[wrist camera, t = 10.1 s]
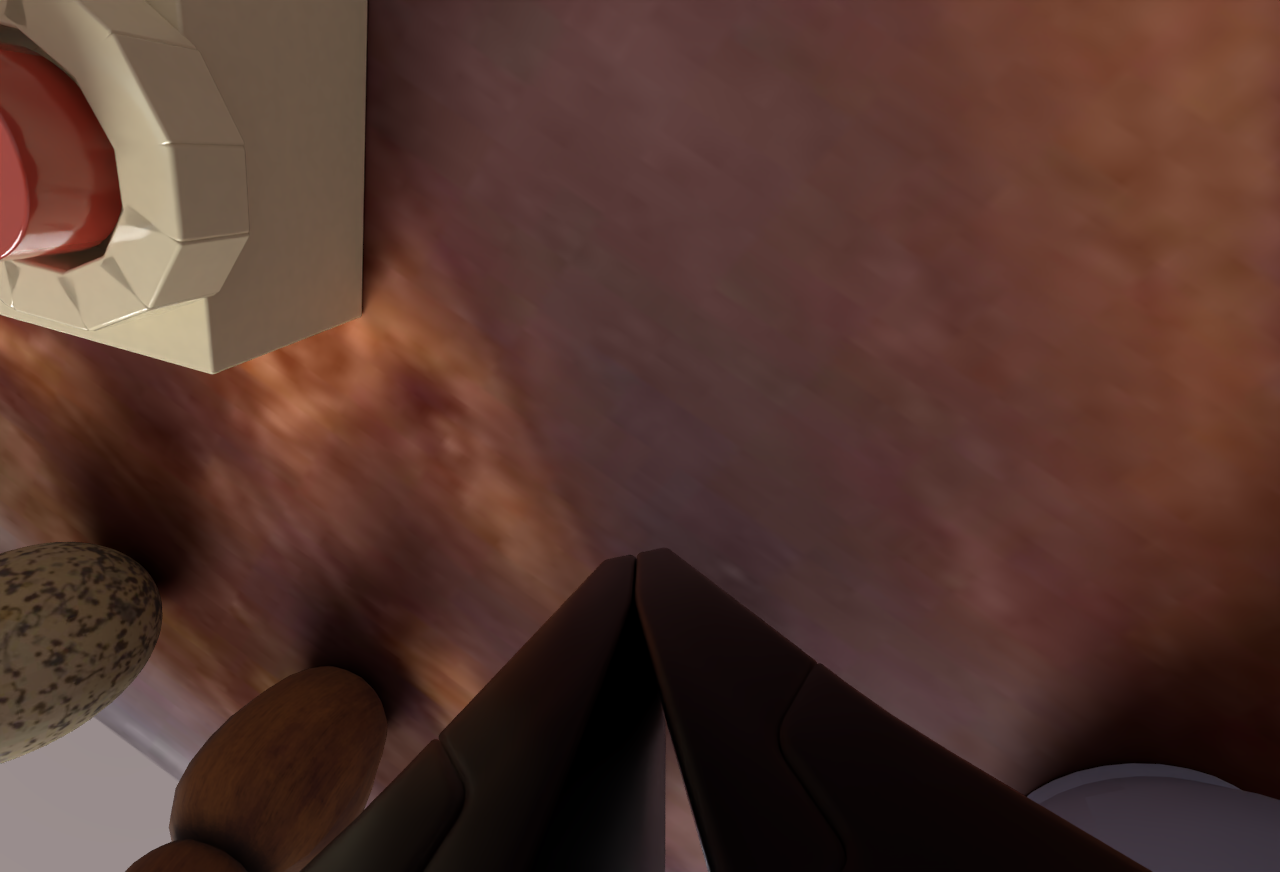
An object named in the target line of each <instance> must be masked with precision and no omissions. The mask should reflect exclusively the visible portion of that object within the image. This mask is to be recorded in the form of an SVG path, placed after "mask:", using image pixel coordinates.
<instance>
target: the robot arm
mask: <svg viewBox="0 0 1280 872" xmlns="http://www.w3.org/2000/svg"><path fill="white" fill-rule="evenodd" d="M664 715H665V716H664ZM665 718H666V722H667V726H668V729H669V733H670V737H671V740H672V744H673V747H674V751H675V755H676V758H677V762H678V765H679V769H680V772H681V776H682V780H683V783H684V787H685V790H686V794H687V797H688V801H689V805H690V808H691V812H692V815H693V819H694V822H695V826H696V830H697V833H698V837H699V840H700V844H701V847H702V851H703V855H704V858H705V862H706V865H707V869H708V872H1152V871H1151V870H1149V869H1147V868H1146V867H1144V866H1142V865H1141V864H1139V863H1137V862H1136V861H1134V860H1132V859H1131V858H1129V857H1127V856H1125V855H1124V854H1122V853H1120V852H1119V851H1117V850H1115V849H1114V848H1112V847H1110V846H1109V845H1107V844H1105V843H1104V842H1102V841H1100V840H1099V839H1097V838H1095V837H1093V836H1092V835H1090V834H1088V833H1087V832H1085V831H1083V830H1082V829H1080V828H1078V827H1077V826H1075V825H1073V824H1072V823H1070V822H1068V821H1067V820H1065V819H1063V818H1061V817H1060V816H1058V815H1056V814H1055V813H1053V812H1051V811H1050V810H1048V809H1046V808H1045V807H1043V806H1041V805H1040V804H1038V803H1036V802H1035V801H1033V800H1031V799H1029V798H1028V797H1026V796H1024V795H1023V794H1021V793H1019V792H1018V791H1016V790H1014V789H1013V788H1011V787H1009V786H1008V785H1006V784H1004V783H1003V782H1001V781H999V780H997V779H996V778H994V777H992V776H991V775H989V774H987V773H986V772H984V771H982V770H981V769H979V768H977V767H976V766H974V765H972V764H971V763H969V762H967V761H965V760H964V759H962V758H960V757H959V756H957V755H955V754H954V753H952V752H950V751H949V750H947V749H946V748H944V747H942V746H941V745H939V744H938V743H936V742H934V741H933V740H931V739H930V738H928V737H926V736H925V735H923V734H922V733H920V732H919V731H917V730H915V729H914V728H912V727H911V726H909V725H907V724H906V723H904V722H903V721H901V720H899V719H898V718H896V717H895V716H893V715H891V714H890V713H888V712H887V711H886V710H884V709H883V708H881V707H880V706H879V705H877V704H876V703H874V702H873V701H872V700H870V699H869V698H867V697H866V696H865V695H863V694H862V693H860V692H859V691H857V690H856V689H855V688H853V687H852V686H850V685H849V684H848V683H846V682H845V681H843V680H842V679H841V678H840V677H838V676H837V675H836V674H834V673H833V672H832V671H830V670H829V669H828V668H826V667H825V666H824V665H822V664H820V663H818V664H817V662H816V661H815V660H814V659H813V658H811V657H810V656H809V655H807V654H806V653H805V652H803V651H802V650H801V649H800V648H798V647H797V646H796V645H794V644H793V643H792V642H790V641H789V640H788V639H786V638H785V637H784V636H783V635H781V634H780V633H779V632H777V631H776V630H775V629H773V628H772V627H771V626H769V625H768V624H767V623H765V622H764V621H763V620H762V619H760V618H759V617H758V616H756V615H755V614H754V613H752V612H751V611H750V610H748V609H747V608H746V607H745V606H743V605H742V604H741V603H739V602H738V601H737V600H735V599H734V598H733V597H731V596H730V595H729V594H727V593H726V592H725V591H724V590H722V589H721V588H720V587H718V586H717V585H716V584H714V583H713V582H712V581H710V580H709V579H708V578H707V577H705V576H704V575H703V574H701V573H700V572H699V571H697V570H696V569H695V568H693V567H692V566H691V565H689V564H688V563H687V562H686V561H684V560H683V559H682V558H680V557H679V556H678V555H676V554H675V553H674V552H672V551H671V550H670V549H668V548H660V549H655V550H651V551H646V552H641V553H639V554H638V555H637V559H636V558H635V556H633V555H626V556H622V557H617V558H612V559H607V560H605V561H603V562H602V563H601V564H600V565H599V566H598V567H597V568H596V570H595V571H594V572H593V573H592V574H591V575H590V576H589V577H588V578H587V579H586V580H585V581H584V582H583V583H582V584H581V585H580V586H579V587H578V589H577V590H576V591H575V592H574V593H573V594H572V595H571V596H570V597H569V598H568V599H567V600H566V601H565V602H564V603H563V604H562V605H561V606H560V608H559V609H558V610H557V611H556V612H555V613H554V614H553V615H552V616H551V617H550V618H549V619H548V620H547V621H546V622H545V623H544V624H543V625H542V627H541V628H540V629H539V630H538V631H537V632H536V633H535V634H534V635H533V636H532V637H531V638H530V639H529V640H528V641H527V642H526V643H525V644H524V646H523V647H522V648H521V649H520V650H519V651H518V652H517V653H516V654H515V655H514V656H513V657H512V658H511V659H510V660H509V661H508V662H507V663H506V665H505V666H504V667H503V668H502V669H501V670H500V671H499V672H498V673H497V674H496V675H495V676H494V677H493V678H492V679H491V680H490V681H489V683H488V684H487V685H486V686H485V687H484V688H483V689H482V690H481V691H480V692H479V693H478V694H477V695H476V696H475V697H474V698H473V699H472V700H471V702H470V703H469V704H468V705H467V706H466V707H465V708H464V709H463V710H462V711H461V712H460V713H459V714H458V715H457V716H456V717H455V718H454V719H453V720H452V722H451V723H450V724H449V725H448V726H447V727H446V728H445V729H444V730H443V731H442V732H441V733H440V735H439V740H438V739H434V740H432V741H431V742H430V743H429V744H428V745H427V746H426V747H425V748H424V749H423V750H422V751H421V752H420V753H419V754H418V755H417V757H416V758H415V759H414V760H413V761H412V762H411V763H410V764H409V765H408V766H407V767H406V768H405V769H404V770H403V771H402V772H401V773H400V774H399V775H398V776H397V777H396V778H395V779H394V780H393V781H392V782H391V783H390V784H389V785H388V786H387V787H386V788H385V789H384V790H383V791H382V792H381V793H380V794H379V795H378V796H377V797H376V798H375V799H374V800H373V801H372V802H371V803H370V804H369V805H368V806H367V807H366V808H365V810H364V811H363V812H362V813H361V814H360V815H359V816H358V817H357V818H356V819H354V820H353V821H352V822H351V823H350V824H349V825H348V826H347V827H346V828H345V829H344V830H343V831H342V832H341V833H340V834H339V835H338V836H336V837H335V838H334V839H333V840H332V841H331V842H330V843H329V844H328V845H327V846H326V847H325V848H324V849H323V850H322V851H321V852H320V853H318V854H317V855H316V856H315V857H314V858H313V859H312V860H311V861H310V862H309V863H308V864H307V865H306V866H305V867H304V868H303V869H302V870H300V871H299V872H665V751H666V740H665Z"/></svg>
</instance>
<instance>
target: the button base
mask: <svg viewBox="0 0 1280 872" xmlns="http://www.w3.org/2000/svg"><path fill="white" fill-rule="evenodd" d="M367 9H368V0H0V41H4V42H10V43H15V44H18V45H21V46H24V47H26V48H28V49H31V50H33V51H35V52H37V53H39V54H40V55H42V56H44V57H45V58H47V59H48V60H50V61H51V62H53V63H54V64H55V65H57V66H58V67H59V68H60V69H62V70H63V71H64V72H65V73H66V74H67V75H68V76H69V77H70V78H72V79H73V80H74V81H75V82H76V84H77V85H78V86H79V87H80V89H81V91H82V93H83V94H84V96H85V98H86V100H87V102H88V103H89V105H90V107H91V109H92V111H93V112H94V114H95V116H96V118H97V120H98V121H99V123H100V125H101V127H102V128H103V130H104V132H105V134H106V136H107V137H108V139H109V141H110V143H111V145H112V146H113V148H114V153H115V160H116V167H117V174H118V181H119V188H120V195H121V202H122V210H121V214H120V217H119V220H118V222H117V224H116V226H115V228H114V230H113V231H112V232H111V234H110V235H109V236H108V237H107V238H106V239H105V240H104V241H103V242H101V243H100V244H98V245H97V246H95V247H93V248H90V249H87V250H84V251H77V252H70V253H62V254H55V255H47V256H39V257H32V258H24V259H16V260H9V261H1V262H0V315H3V316H7V317H10V318H14V319H17V320H21V321H24V322H28V323H32V324H35V325H39V326H42V327H46V328H49V329H53V330H56V331H60V332H64V333H67V334H71V335H74V336H78V337H81V338H85V339H88V340H92V341H95V342H99V343H103V344H106V345H110V346H113V347H117V348H120V349H124V350H127V351H131V352H135V353H138V354H142V355H145V356H149V357H152V358H156V359H159V360H163V361H166V362H170V363H174V364H177V365H181V366H184V367H188V368H191V369H195V370H198V371H202V372H206V373H209V374H216V373H218V372H221V371H223V370H226V369H228V368H231V367H234V366H236V365H239V364H241V363H244V362H246V361H249V360H252V359H254V358H257V357H259V356H262V355H264V354H267V353H270V352H272V351H275V350H277V349H280V348H282V347H285V346H287V345H290V344H293V343H295V342H298V341H300V340H303V339H305V338H308V337H311V336H313V335H316V334H318V333H321V332H323V331H326V330H329V329H331V328H334V327H336V326H339V325H341V324H344V323H346V322H349V321H352V320H354V319H357V318H359V317H361V316H362V273H363V220H364V167H365V115H366V62H367Z"/></svg>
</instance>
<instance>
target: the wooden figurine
mask: <svg viewBox="0 0 1280 872" xmlns="http://www.w3.org/2000/svg"><path fill="white" fill-rule="evenodd" d="M387 724H388V722H387V719H386V715H385V712H384V709H383V706H382V702H381V700H380V699H379V697H378V695H377V694H376V692H375V691H374V689H373V688H372V687H371V686H370V685H369V684H368V683H367V682H366V681H365V680H364V679H363V678H362V677H360V676H358V675H356V674H354V673H352V672H350V671H348V670H345V669H341V668H338V667H334V666H323V667H316V668H309V669H306V670H303V671H301V672H298V673H295V674H293V675H290V676H288V677H287V678H285V679H283V680H282V681H280V682H278V683H277V684H275V685H273V686H272V687H270V688H269V689H267V690H266V691H264V692H263V693H262V694H260V695H259V696H257V697H256V698H255V699H253V700H252V701H251V702H249V703H248V704H247V705H245V706H244V707H243V708H242V709H240V710H239V711H238V712H236V713H235V714H234V715H232V716H231V717H230V718H229V719H228V720H227V721H226V722H225V723H224V724H223V725H222V726H221V727H220V728H219V729H218V730H217V731H216V732H215V733H214V734H213V735H212V736H211V737H210V738H209V739H208V740H207V742H206V743H205V744H204V745H203V747H202V748H201V749H200V750H199V752H198V753H197V754H196V755H195V757H194V758H193V759H192V760H191V762H190V763H189V765H188V767H187V769H186V770H185V772H184V774H183V776H182V778H181V780H180V781H179V783H178V785H177V787H176V790H175V796H174V801H173V806H172V812H171V818H170V824H169V830H170V835H171V840H172V842H170V843H168V844H165V845H163V846H160V847H159V848H156V849H154V850H152V851H150V852H149V853H147V854H146V855H144V856H143V857H141V858H140V859H139V860H137V861H136V862H134V863H133V864H132V865H131V866H130V867H129V868H128V869H127V870H126V871H125V872H299V871H300V870H302V869H303V868H304V867H305V866H306V865H307V864H308V863H309V862H310V861H311V860H312V859H313V858H314V857H315V856H316V855H317V854H318V853H320V852H321V851H322V850H323V849H324V848H325V847H326V846H327V845H328V844H329V843H330V842H331V841H332V840H333V839H334V838H335V837H336V836H338V835H339V834H340V833H341V832H342V831H343V830H344V829H345V828H346V827H347V826H348V825H349V824H350V823H351V822H352V821H353V820H354V819H356V818H357V817H358V816H359V815H360V814H361V813H362V812H363V811H364V808H365V805H366V803H367V800H368V798H369V795H370V792H371V790H372V786H373V783H374V779H375V775H376V772H377V769H378V766H379V763H380V760H381V757H382V754H383V749H384V745H385V741H386V737H387Z"/></svg>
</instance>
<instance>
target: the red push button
mask: <svg viewBox="0 0 1280 872" xmlns="http://www.w3.org/2000/svg"><path fill="white" fill-rule="evenodd" d="M121 210H122V202H121V195H120V188H119V181H118V174H117V167H116V160H115V153H114V148H113V146H112V145H111V143H110V141H109V139H108V137H107V136H106V134H105V132H104V130H103V128H102V127H101V125H100V123H99V121H98V120H97V118H96V116H95V114H94V112H93V111H92V109H91V107H90V105H89V103H88V102H87V100H86V98H85V96H84V94H83V93H82V91H81V89H80V87H79V86H78V85H77V84H76V82H75V81H74V80H73V79H72V78H70V77H69V76H68V75H67V74H66V73H65V72H64V71H63V70H62V69H60V68H59V67H58V66H57V65H55V64H54V63H53V62H51V61H50V60H48V59H47V58H45V57H44V56H42V55H40V54H39V53H37V52H35V51H33V50H31V49H28V48H26V47H24V46H21V45H18V44H15V43H10V42H4V41H0V262H1V261H9V260H16V259H24V258H32V257H39V256H47V255H55V254H62V253H70V252H77V251H84V250H87V249H90V248H93V247H95V246H97V245H98V244H100V243H101V242H103V241H104V240H105V239H106V238H107V237H108V236H109V235H110V234H111V232H112V231H113V230H114V228H115V226H116V224H117V222H118V220H119V217H120V214H121Z"/></svg>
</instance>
